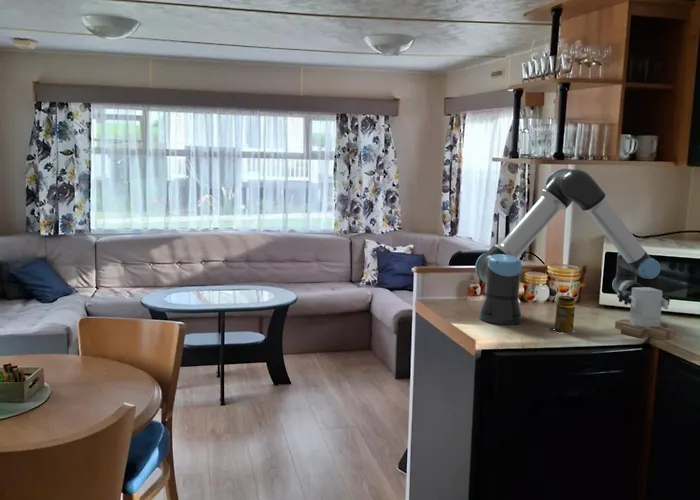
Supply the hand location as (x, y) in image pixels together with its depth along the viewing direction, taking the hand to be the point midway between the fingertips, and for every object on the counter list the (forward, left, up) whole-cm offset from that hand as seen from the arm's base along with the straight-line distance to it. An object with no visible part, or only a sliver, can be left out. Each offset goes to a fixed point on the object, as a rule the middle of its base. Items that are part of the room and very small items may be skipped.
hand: (651, 304), depth 221 cm
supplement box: (0, +4, -8) cm, 9 cm away
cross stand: (0, +4, -11) cm, 12 cm away
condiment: (-29, -2, -11) cm, 31 cm away
